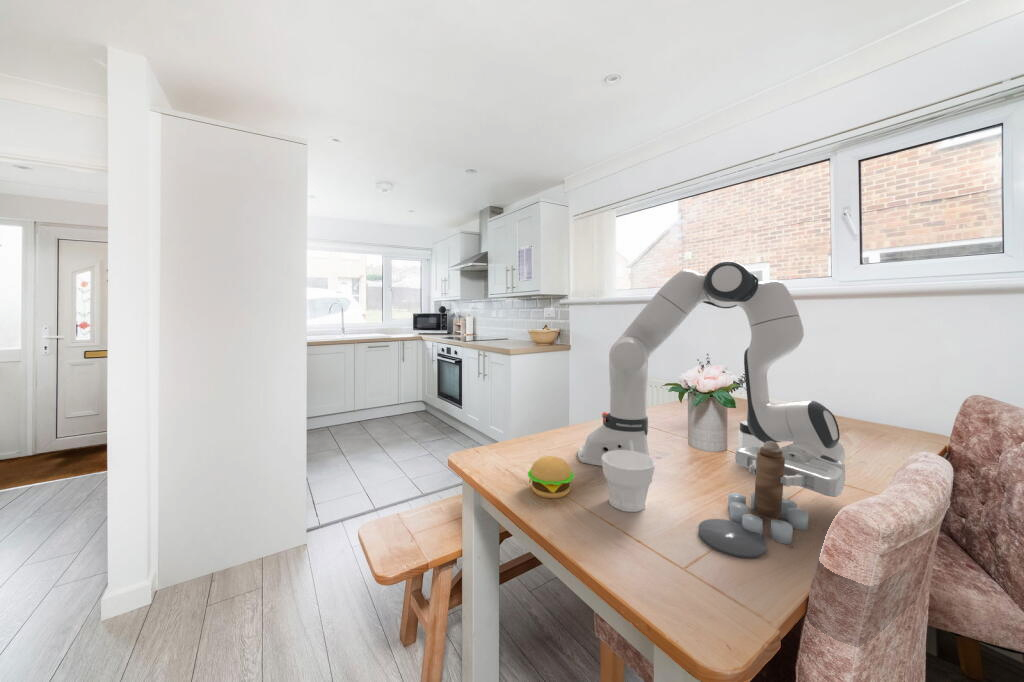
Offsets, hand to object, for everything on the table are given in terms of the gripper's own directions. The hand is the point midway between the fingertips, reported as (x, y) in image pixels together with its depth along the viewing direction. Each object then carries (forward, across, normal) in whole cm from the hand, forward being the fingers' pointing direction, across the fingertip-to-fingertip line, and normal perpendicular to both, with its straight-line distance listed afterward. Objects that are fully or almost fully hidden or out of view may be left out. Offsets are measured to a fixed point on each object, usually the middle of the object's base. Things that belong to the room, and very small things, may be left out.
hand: (767, 475), depth 82 cm
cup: (+19, -21, +11) cm, 31 cm away
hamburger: (+31, -36, +12) cm, 49 cm away
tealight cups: (-1, 0, +11) cm, 11 cm away
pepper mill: (-1, 0, +8) cm, 9 cm away
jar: (-34, -20, +11) cm, 41 cm away
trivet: (+12, 0, +11) cm, 16 cm away
